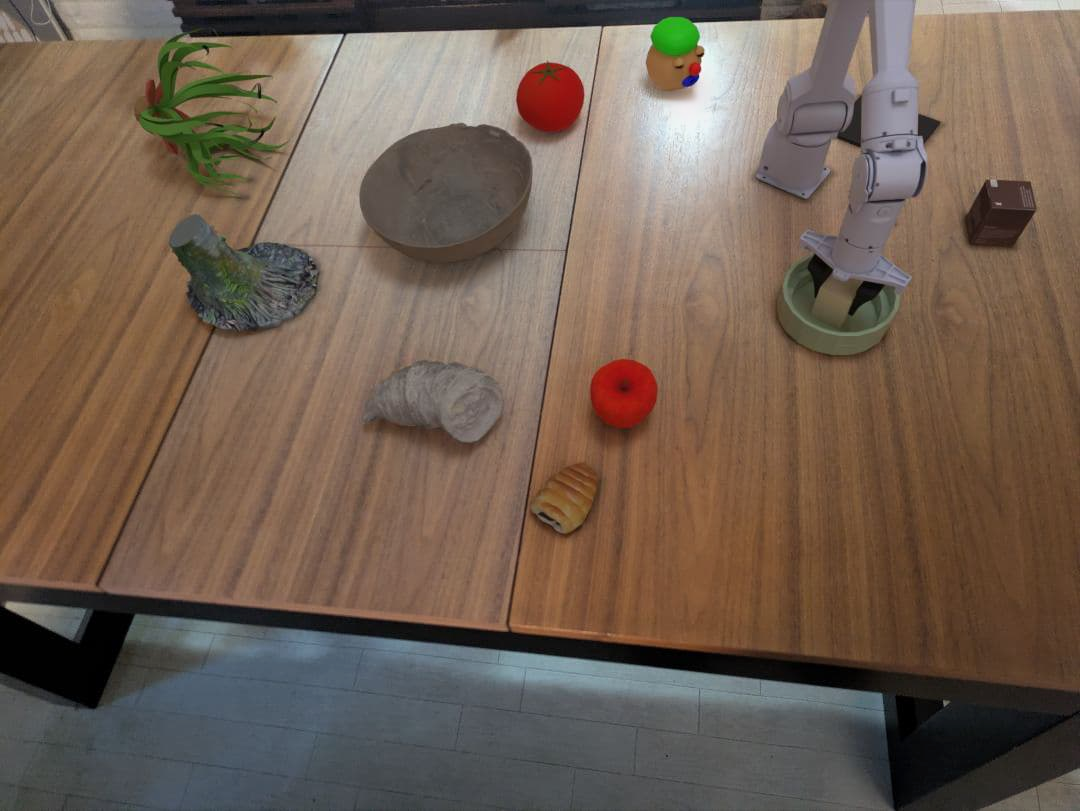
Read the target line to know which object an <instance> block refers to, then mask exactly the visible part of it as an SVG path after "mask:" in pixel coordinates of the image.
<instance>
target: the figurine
mask: <svg viewBox="0 0 1080 811" xmlns="http://www.w3.org/2000/svg"><path fill="white" fill-rule="evenodd" d="M652 28H653V29H652V31H651V33H650V37H649V38H650V41H651V45H650V47H649V50H648V51H647V54H646V58H645V66H646V72H647V75H648V78H649V79H650V81H651V82H652V83H653V84H654V86H656V88H657V89H660V90H662V91H669V92H675V91H679V90H683V89H686V88H689V87H693V86H694V85H695V84H697V82H698V81H699V79H700V74H701V71H702V66H701V64H702V58H703V57H704V55H705V51H706V49H705V48H704V46H702V45H698V44H699V41H700V39H701V35H700V32H699V29H698V27H697V25H696V24H694V22H692V21H691V20H690V19H689V18H686V17H683V16H669V17H665V18H663V19H661V20H660V21H659V22H658V23H656V24H655V25H654V26H653V27H652Z"/></svg>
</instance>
